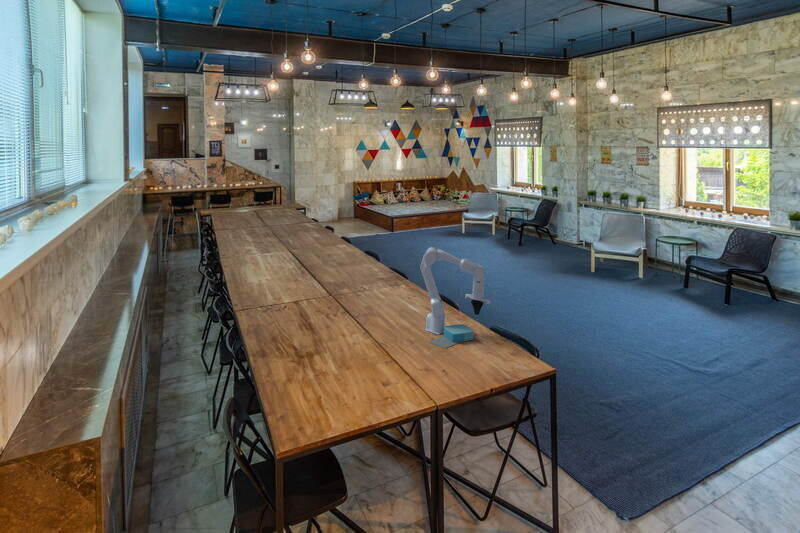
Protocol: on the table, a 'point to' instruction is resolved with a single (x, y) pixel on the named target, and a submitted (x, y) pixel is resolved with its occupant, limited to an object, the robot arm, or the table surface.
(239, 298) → the table surface
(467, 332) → the data package
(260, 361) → the table surface
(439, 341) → the mat
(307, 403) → the table surface
